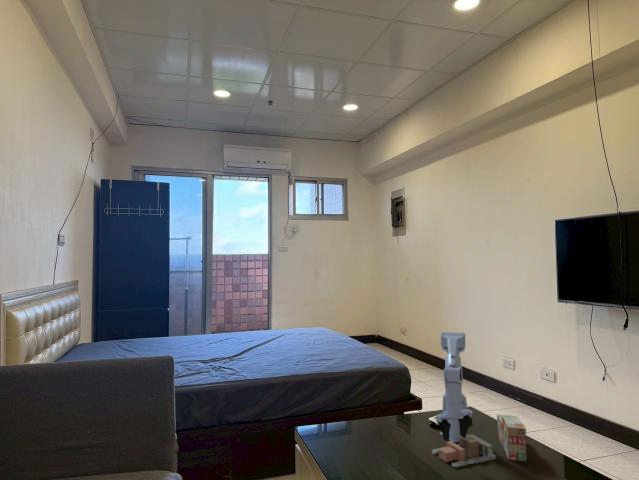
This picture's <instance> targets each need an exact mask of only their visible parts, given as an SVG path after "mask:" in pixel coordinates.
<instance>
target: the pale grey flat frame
mask: <svg viewBox="0 0 639 480" xmlns="http://www.w3.org/2000/svg"><path fill="white" fill-rule="evenodd" d="M468 435H469V436H470V437H472V438H474V439H476V440H478V441H479V455H480V454H481V456H479V457H477V458H472V459H470V458H468V459H465V460H463V461H455V462H451V467H452V466H453V467H459V466H463V465H468V464H472V465H475V464H474V463H476V464H480V463H484V462H488V461H492V460H496V458H497V456H496V455H495V454H494V446H493V444H491V443H489V442H488V441H485V440H483V439H481V438H480V437H478V436H476V435H474V434H472V433H471V434H468ZM457 445H458V446H460V445H459V443H458V444H457ZM445 447H446V446H444V447H438V448H434V449H432V450H431V454H432V455H434V454H435V455H439V454H438V453H439V449H440V448H445ZM482 455H483V456H482ZM479 462H480V463H479ZM468 466H469V465H468ZM453 467H452V468H453ZM463 467H464V466H463ZM459 468H460V467H459Z"/></svg>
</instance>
